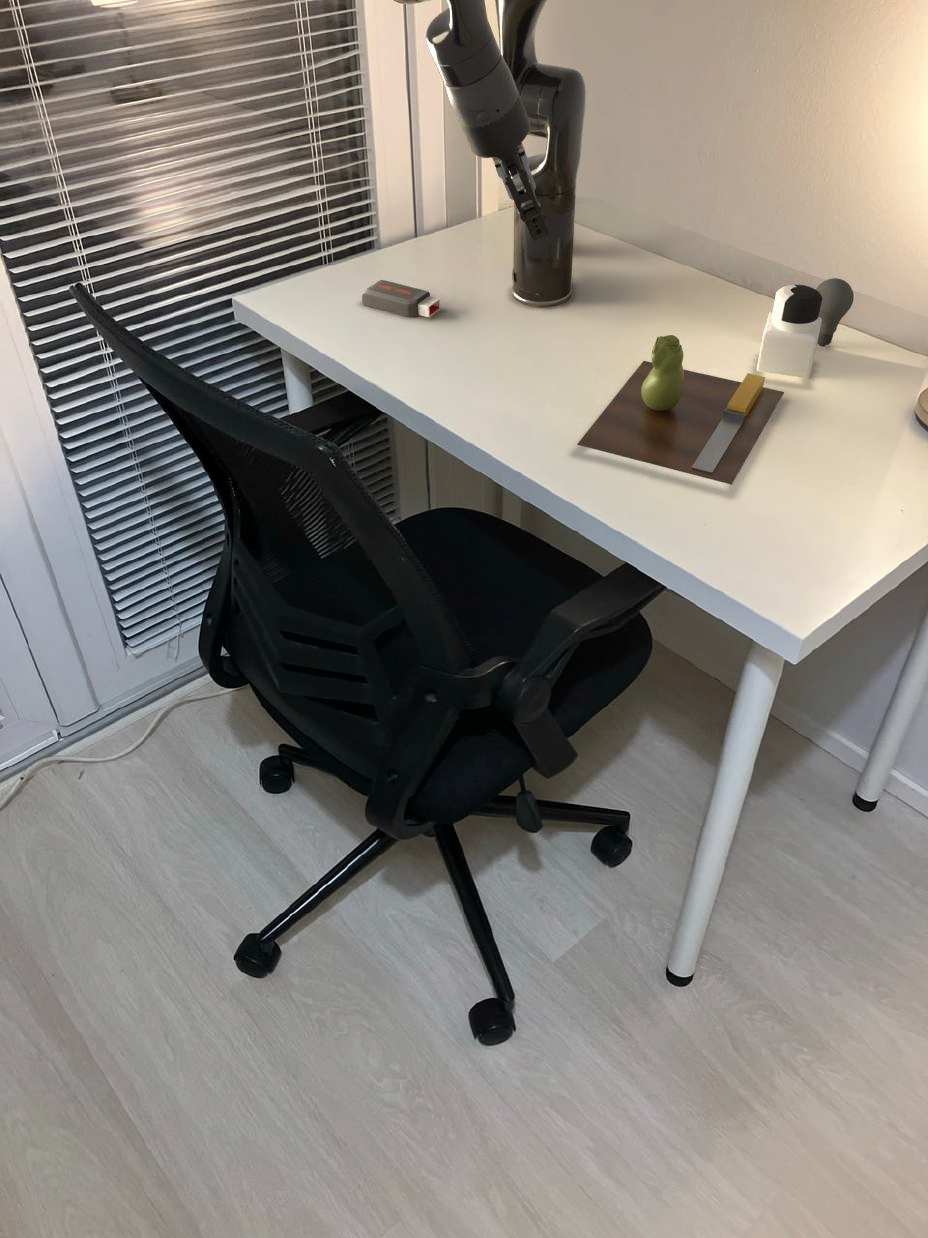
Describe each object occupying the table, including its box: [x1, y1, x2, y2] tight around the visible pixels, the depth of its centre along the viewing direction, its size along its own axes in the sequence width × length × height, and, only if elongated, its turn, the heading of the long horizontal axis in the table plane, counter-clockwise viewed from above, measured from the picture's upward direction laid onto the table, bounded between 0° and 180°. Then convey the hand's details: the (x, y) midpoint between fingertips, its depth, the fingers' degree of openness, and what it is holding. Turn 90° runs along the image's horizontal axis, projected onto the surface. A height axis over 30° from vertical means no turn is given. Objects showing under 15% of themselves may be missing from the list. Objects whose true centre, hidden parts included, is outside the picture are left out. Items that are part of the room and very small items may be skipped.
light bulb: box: [815, 277, 855, 347], centre depth 150 cm, size 6×6×10 cm
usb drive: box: [361, 279, 441, 318], centre depth 165 cm, size 5×12×3 cm, turn 59°
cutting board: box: [576, 360, 785, 485], centre depth 137 cm, size 24×20×2 cm
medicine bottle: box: [756, 284, 822, 379], centre depth 144 cm, size 7×7×12 cm
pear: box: [641, 334, 685, 411], centre depth 135 cm, size 6×5×10 cm
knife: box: [692, 372, 766, 474], centre depth 134 cm, size 22×3×2 cm, turn 152°
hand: (534, 216), depth 133 cm, fingers open, 8 cm apart
